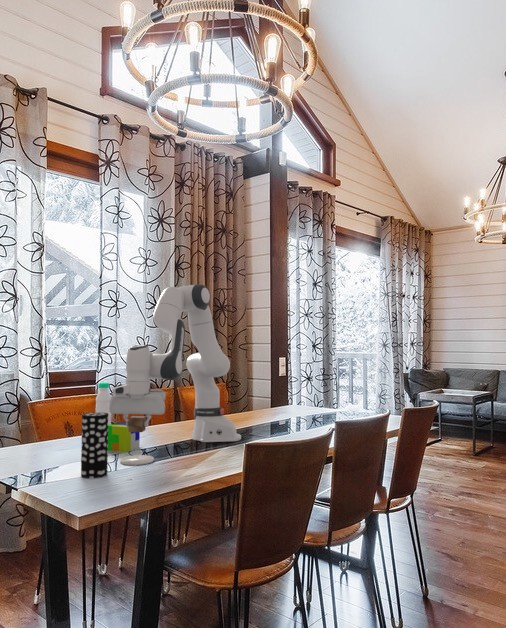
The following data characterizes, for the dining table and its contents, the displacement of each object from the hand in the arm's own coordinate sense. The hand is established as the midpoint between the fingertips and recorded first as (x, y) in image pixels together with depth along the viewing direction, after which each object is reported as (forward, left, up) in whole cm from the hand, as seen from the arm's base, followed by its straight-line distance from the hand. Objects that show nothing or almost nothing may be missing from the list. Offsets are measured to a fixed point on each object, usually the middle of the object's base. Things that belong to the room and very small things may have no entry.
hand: (137, 426), depth 191 cm
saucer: (0, 0, -13) cm, 13 cm away
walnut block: (0, 0, -2) cm, 2 cm away
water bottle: (+28, -46, -13) cm, 55 cm away
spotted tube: (+9, +20, -13) cm, 25 cm away
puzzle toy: (+12, -22, -13) cm, 28 cm away
